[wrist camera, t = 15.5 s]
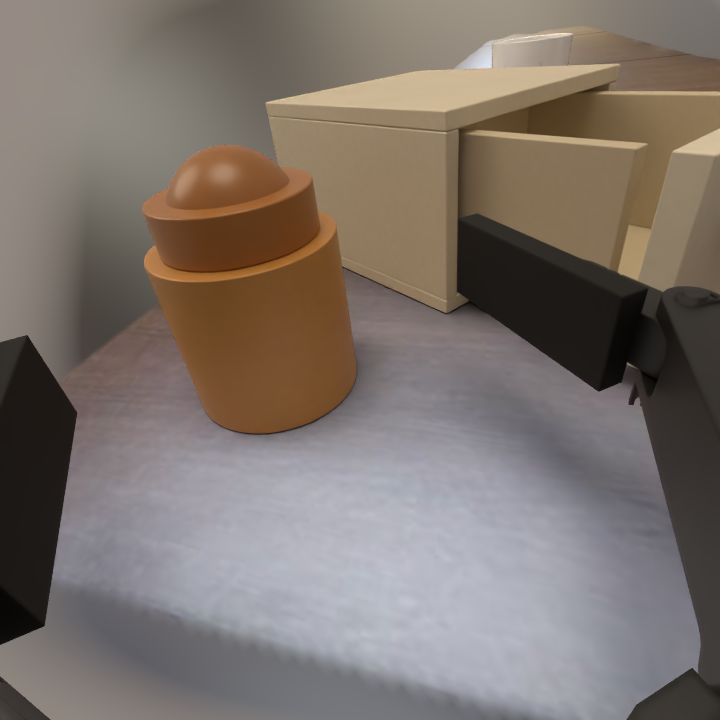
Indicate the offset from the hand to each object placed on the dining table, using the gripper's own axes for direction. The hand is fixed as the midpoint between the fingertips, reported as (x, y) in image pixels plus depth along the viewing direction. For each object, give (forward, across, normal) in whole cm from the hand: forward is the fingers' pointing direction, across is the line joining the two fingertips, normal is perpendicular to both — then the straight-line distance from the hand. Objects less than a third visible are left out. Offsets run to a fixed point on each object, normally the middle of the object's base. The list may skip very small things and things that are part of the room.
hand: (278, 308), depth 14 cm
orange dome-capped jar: (+5, 0, -6) cm, 7 cm away
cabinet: (+15, +14, -6) cm, 21 cm away
